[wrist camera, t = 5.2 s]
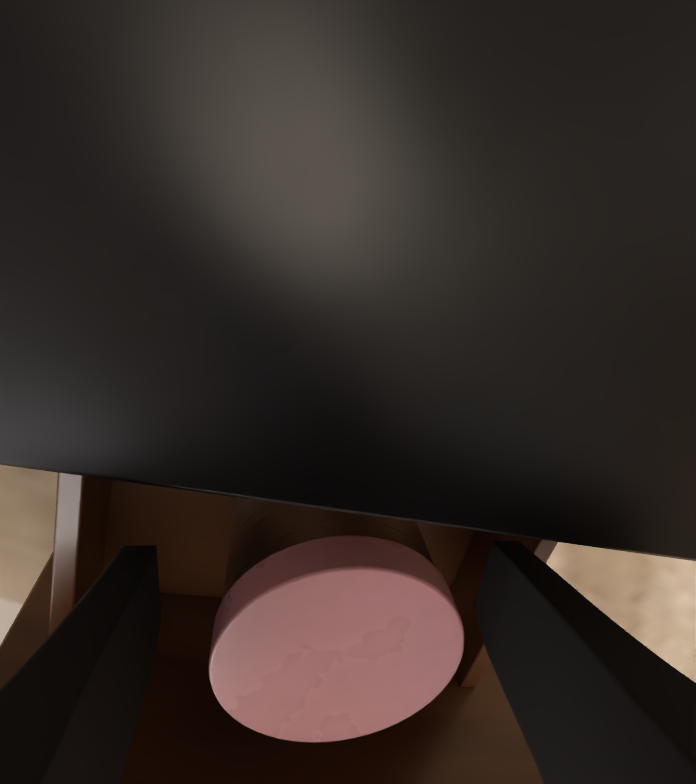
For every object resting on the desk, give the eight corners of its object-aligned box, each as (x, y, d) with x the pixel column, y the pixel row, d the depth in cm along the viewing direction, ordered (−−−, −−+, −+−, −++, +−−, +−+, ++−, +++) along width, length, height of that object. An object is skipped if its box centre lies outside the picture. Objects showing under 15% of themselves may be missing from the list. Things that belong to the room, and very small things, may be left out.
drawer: (423, 674, 20) (506, 956, 13) (48, 652, 16) (-117, 1015, 9) (617, 287, 14) (981, 423, 7) (78, 128, 10) (-333, 64, 3)
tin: (263, 571, 14) (258, 768, 10) (205, 443, 12) (164, 618, 8) (412, 527, 14) (479, 702, 10) (380, 393, 12) (444, 534, 8)
